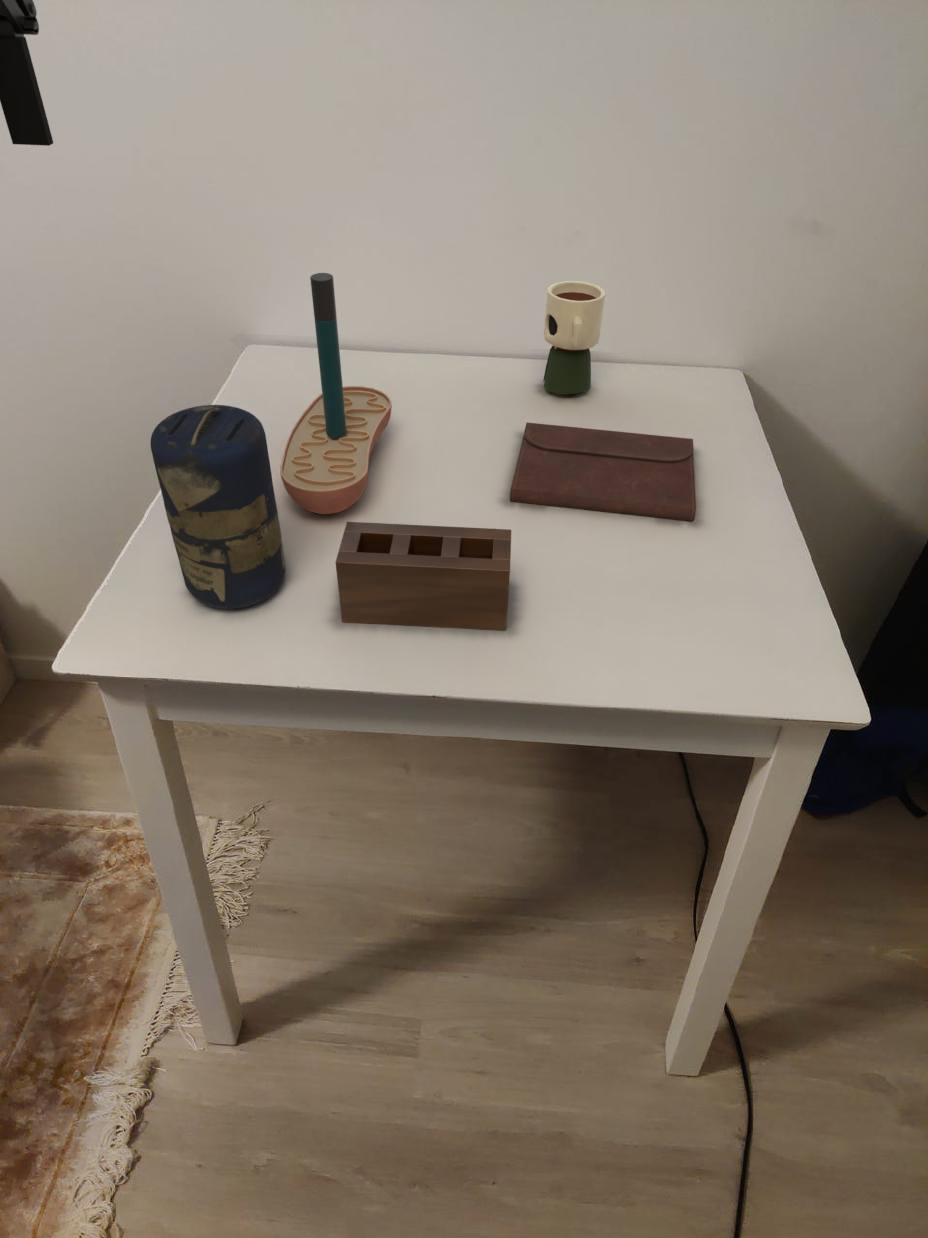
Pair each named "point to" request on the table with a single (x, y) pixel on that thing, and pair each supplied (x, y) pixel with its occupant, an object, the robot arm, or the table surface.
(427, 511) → the table surface
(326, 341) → the pen
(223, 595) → the canister
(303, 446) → the anatomical model
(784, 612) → the table surface
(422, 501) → the table surface
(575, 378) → the character mug
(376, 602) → the pen holder
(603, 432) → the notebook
